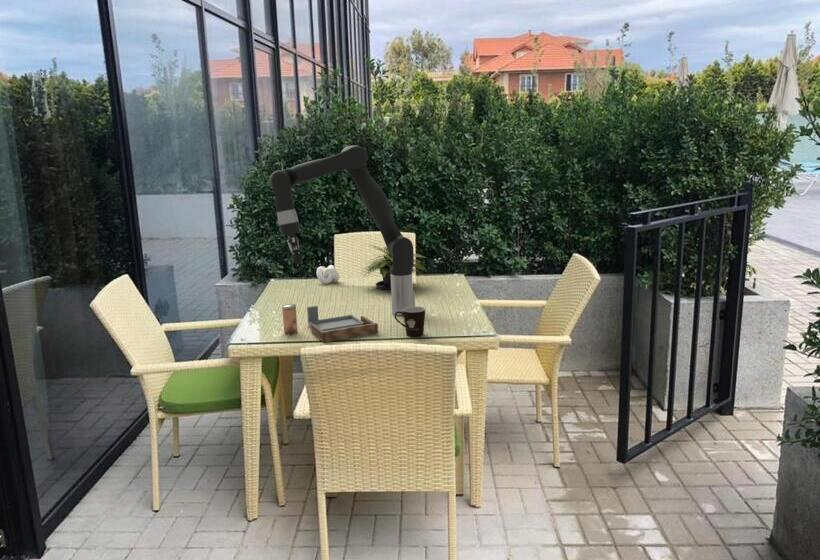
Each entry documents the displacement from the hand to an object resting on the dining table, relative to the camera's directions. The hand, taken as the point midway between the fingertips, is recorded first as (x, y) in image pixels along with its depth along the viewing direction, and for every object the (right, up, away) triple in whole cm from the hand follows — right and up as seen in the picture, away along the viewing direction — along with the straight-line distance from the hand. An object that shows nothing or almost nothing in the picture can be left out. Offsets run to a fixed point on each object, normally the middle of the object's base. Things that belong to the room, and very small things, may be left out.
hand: (297, 263), depth 248 cm
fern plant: (+36, -10, +76) cm, 85 cm away
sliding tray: (+14, -25, +8) cm, 30 cm away
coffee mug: (+45, -27, -5) cm, 53 cm away
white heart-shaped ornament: (0, -8, +92) cm, 93 cm away
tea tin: (-3, -27, +3) cm, 27 cm away
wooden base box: (+18, -27, -1) cm, 33 cm away
